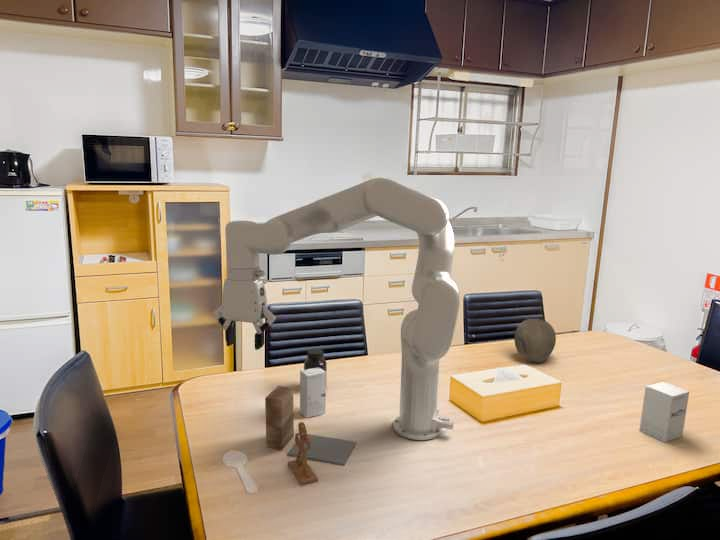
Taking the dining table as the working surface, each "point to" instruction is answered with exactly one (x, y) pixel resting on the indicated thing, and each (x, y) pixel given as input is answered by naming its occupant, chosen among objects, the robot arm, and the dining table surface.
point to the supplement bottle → (315, 360)
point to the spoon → (240, 468)
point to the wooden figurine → (302, 459)
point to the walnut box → (279, 417)
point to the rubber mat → (326, 449)
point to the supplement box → (664, 411)
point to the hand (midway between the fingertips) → (244, 345)
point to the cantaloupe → (535, 339)
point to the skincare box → (312, 392)
